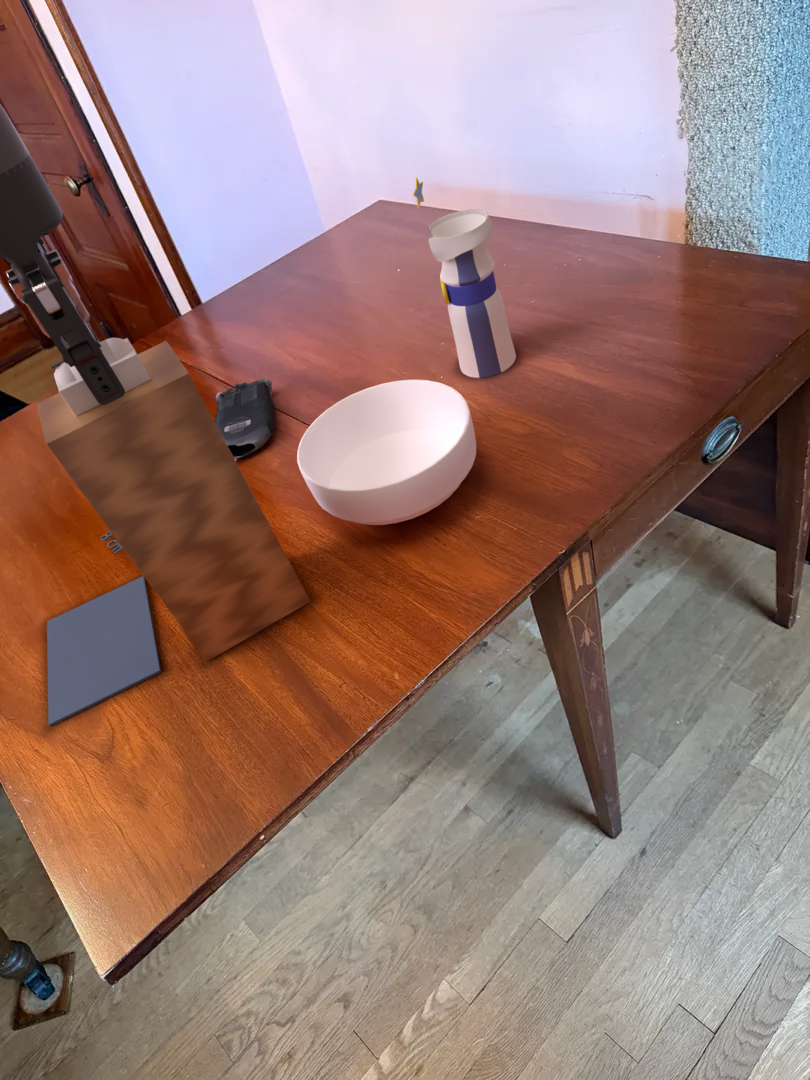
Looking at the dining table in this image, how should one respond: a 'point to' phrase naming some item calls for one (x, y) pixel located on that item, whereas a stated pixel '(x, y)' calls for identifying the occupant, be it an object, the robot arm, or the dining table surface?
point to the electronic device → (246, 416)
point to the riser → (178, 504)
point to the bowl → (389, 451)
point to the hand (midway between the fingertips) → (105, 381)
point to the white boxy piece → (120, 361)
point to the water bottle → (471, 291)
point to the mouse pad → (100, 650)
